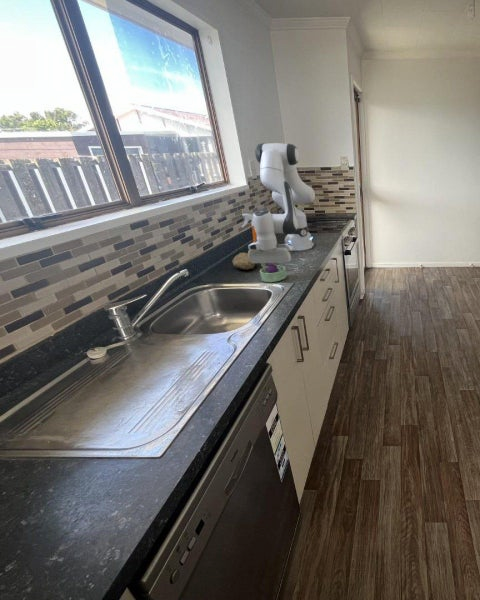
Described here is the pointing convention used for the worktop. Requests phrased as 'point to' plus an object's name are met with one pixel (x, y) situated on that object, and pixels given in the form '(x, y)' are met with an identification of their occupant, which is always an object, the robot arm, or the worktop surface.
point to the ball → (272, 269)
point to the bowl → (273, 275)
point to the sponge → (243, 261)
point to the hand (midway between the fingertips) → (272, 270)
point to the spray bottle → (250, 217)
